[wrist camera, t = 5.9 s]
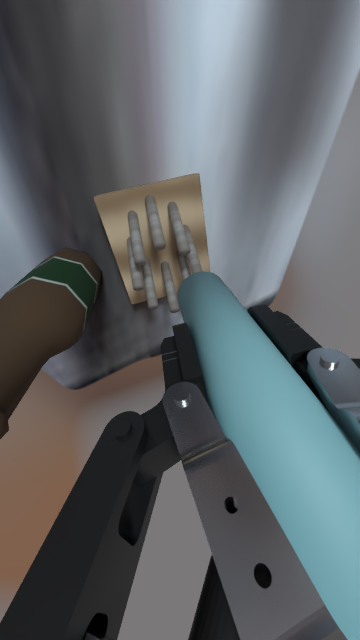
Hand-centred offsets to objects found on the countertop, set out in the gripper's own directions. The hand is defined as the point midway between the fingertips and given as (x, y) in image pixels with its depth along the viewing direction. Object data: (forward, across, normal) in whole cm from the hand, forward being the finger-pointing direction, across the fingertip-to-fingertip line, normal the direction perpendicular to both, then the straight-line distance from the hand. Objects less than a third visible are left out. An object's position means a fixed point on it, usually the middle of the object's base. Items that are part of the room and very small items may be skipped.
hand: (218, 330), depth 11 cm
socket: (+23, +2, 0) cm, 23 cm away
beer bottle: (+24, +14, +2) cm, 28 cm away
